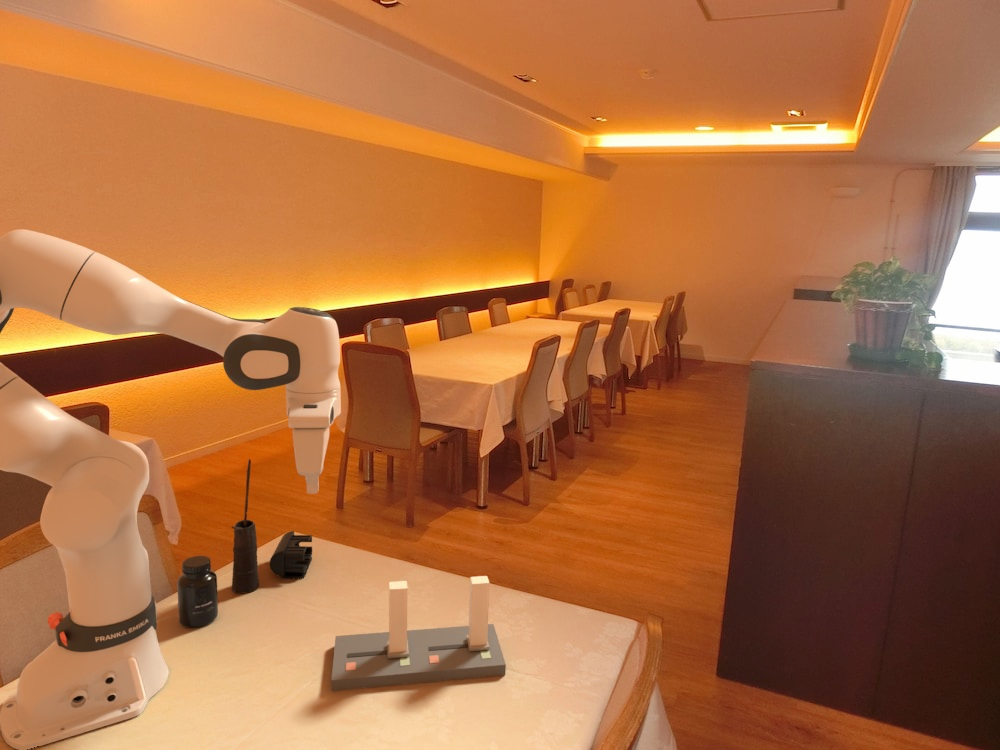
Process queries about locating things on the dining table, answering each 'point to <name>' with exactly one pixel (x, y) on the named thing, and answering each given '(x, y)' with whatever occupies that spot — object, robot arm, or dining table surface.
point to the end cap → (291, 556)
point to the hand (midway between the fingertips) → (315, 481)
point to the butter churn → (245, 552)
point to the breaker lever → (478, 614)
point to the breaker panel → (413, 659)
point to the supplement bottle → (197, 593)
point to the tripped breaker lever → (397, 620)
